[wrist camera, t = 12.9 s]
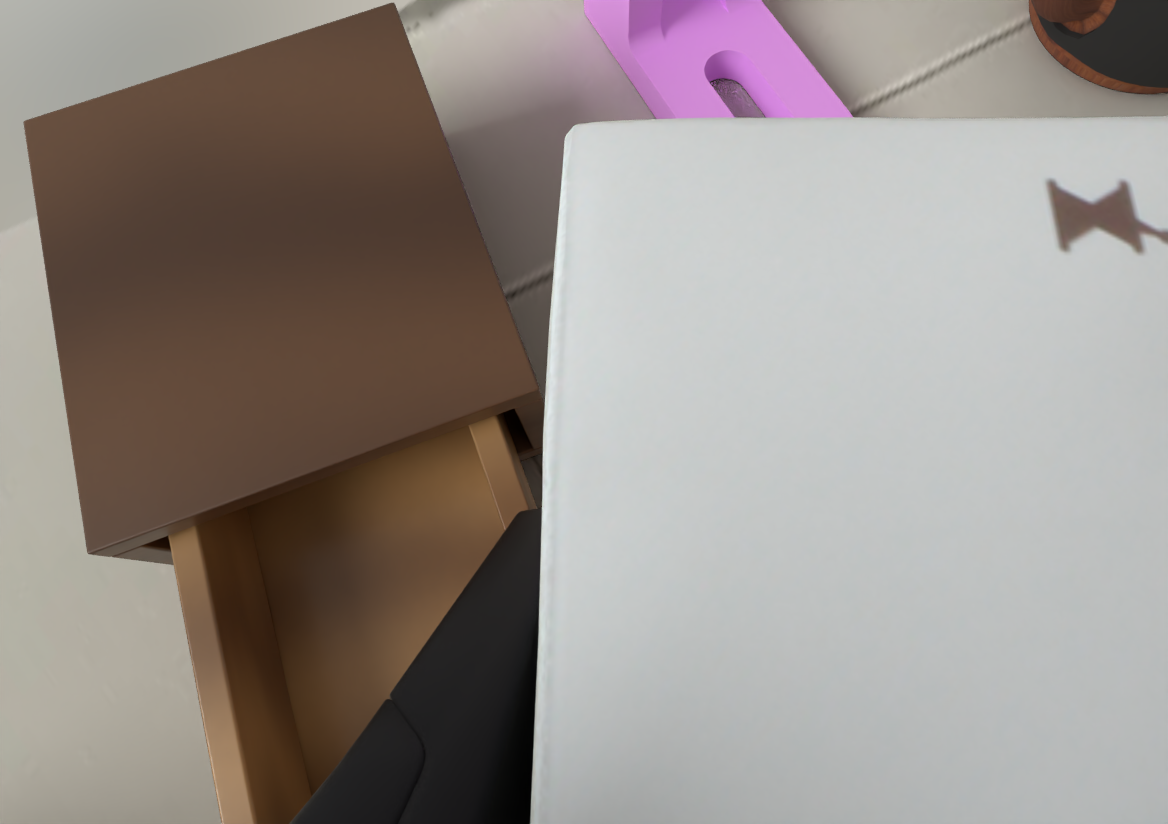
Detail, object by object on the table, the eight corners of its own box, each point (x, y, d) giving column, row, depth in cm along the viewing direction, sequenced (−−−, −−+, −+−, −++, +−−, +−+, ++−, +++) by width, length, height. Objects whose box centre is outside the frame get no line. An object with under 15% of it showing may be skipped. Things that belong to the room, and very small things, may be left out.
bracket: (584, 13, 28) (575, -173, 22) (700, -39, 29) (726, -236, 22) (750, 256, 25) (799, 122, 18) (879, 191, 25) (973, 39, 19)
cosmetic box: (596, 477, 16) (556, 82, 4) (782, 482, 16) (1244, 83, 4) (586, 768, 14) (472, 1377, 3) (797, 779, 14) (1685, 1490, 2)
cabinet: (558, 447, 23) (539, 388, 17) (224, 572, 22) (86, 555, 16) (441, 135, 27) (393, 1, 21) (153, 231, 26) (22, 120, 20)
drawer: (721, 947, 18) (754, 1043, 14) (342, 1111, 17) (257, 1264, 13) (516, 385, 23) (494, 332, 19) (213, 495, 22) (121, 466, 18)
